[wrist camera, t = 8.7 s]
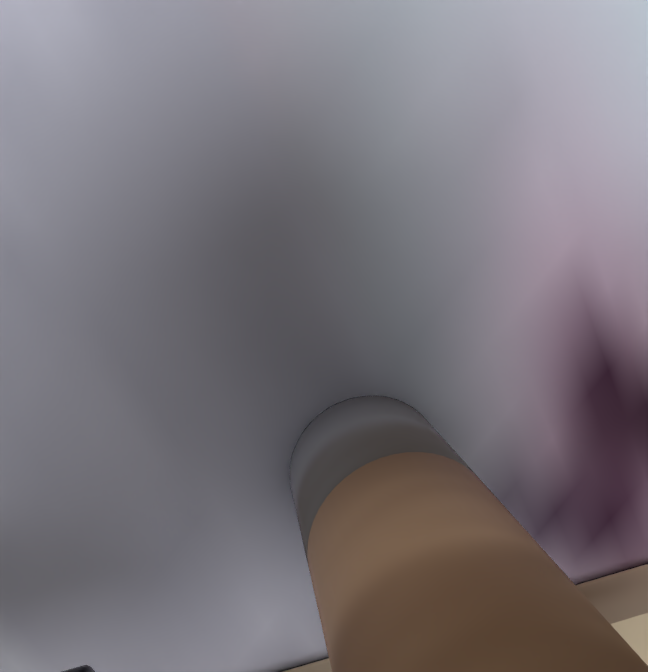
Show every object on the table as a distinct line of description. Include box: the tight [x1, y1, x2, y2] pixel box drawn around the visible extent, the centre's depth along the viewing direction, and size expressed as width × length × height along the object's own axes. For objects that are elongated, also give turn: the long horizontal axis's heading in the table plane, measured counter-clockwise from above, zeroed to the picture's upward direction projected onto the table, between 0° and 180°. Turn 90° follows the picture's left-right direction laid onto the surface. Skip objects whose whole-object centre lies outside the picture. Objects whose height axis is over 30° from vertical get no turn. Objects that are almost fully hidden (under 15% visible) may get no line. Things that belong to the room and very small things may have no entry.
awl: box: [290, 396, 648, 672], centre depth 8 cm, size 3×3×7 cm
